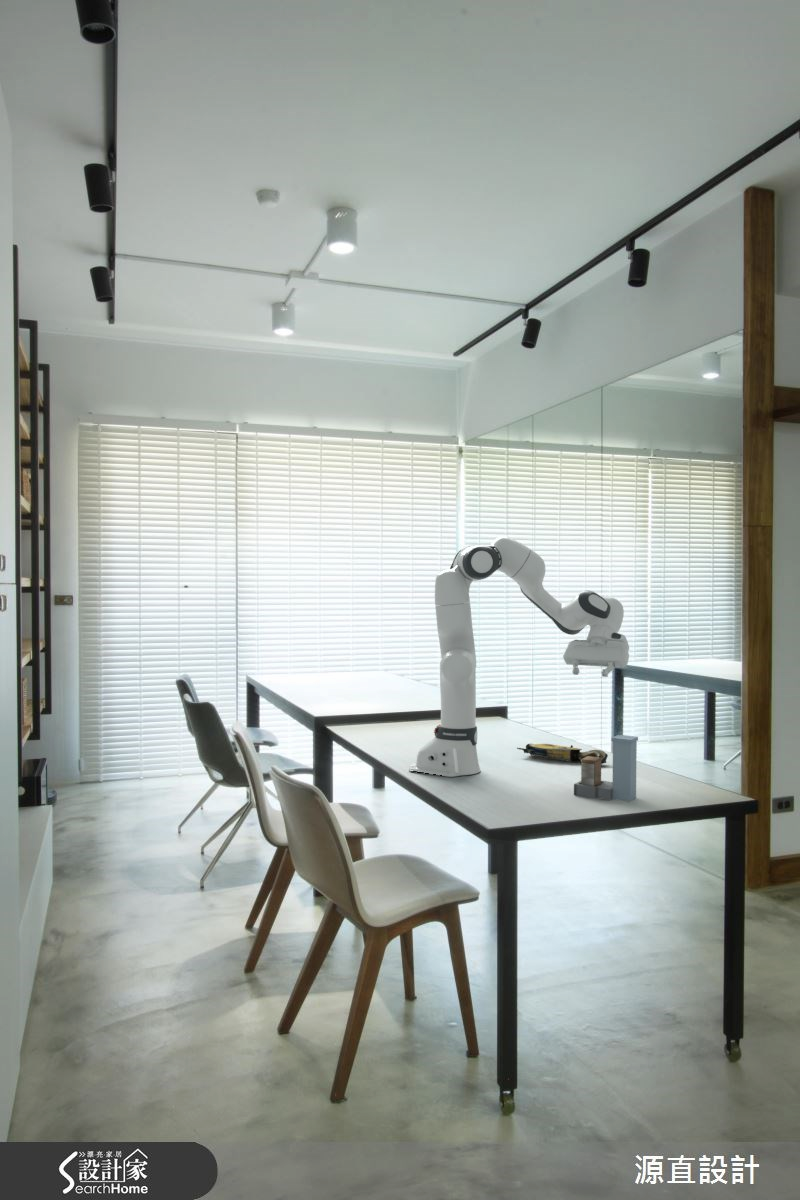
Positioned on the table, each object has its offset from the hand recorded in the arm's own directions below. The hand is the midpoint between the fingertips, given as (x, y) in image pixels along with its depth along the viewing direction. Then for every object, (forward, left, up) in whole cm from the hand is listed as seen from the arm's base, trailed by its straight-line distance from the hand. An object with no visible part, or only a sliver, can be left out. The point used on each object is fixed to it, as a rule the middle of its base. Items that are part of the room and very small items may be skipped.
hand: (589, 674), depth 261 cm
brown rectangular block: (+3, -22, -31) cm, 39 cm away
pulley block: (-10, +20, -32) cm, 39 cm away
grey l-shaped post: (+7, -24, -31) cm, 40 cm away
